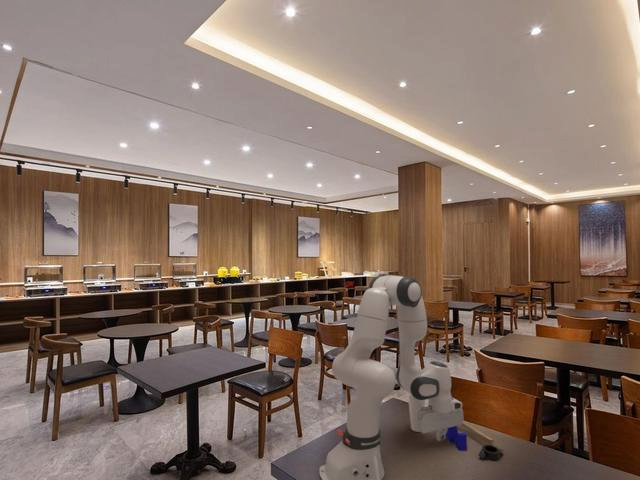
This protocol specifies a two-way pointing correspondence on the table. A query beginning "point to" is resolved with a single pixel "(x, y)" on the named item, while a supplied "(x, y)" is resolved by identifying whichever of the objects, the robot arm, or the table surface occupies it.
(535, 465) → the table surface
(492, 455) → the black winged round fixture
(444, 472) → the table surface
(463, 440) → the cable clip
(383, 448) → the table surface
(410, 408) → the drinking glass
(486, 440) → the bar
